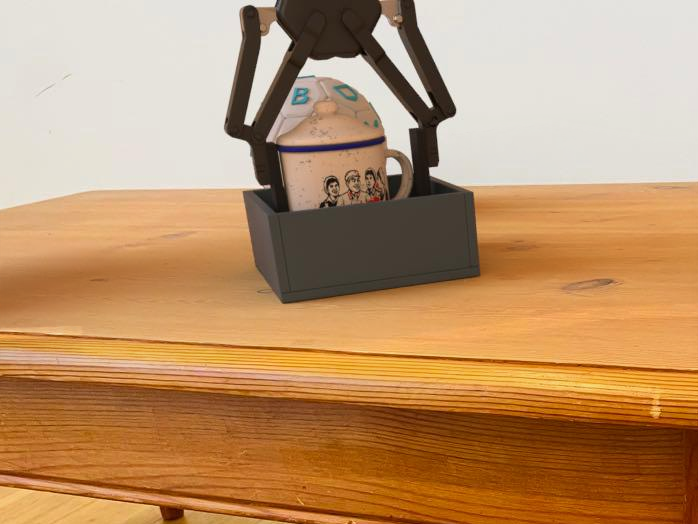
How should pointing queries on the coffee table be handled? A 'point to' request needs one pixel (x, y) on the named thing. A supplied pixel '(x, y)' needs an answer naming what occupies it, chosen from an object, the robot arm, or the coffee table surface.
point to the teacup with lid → (337, 161)
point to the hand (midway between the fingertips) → (355, 216)
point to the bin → (364, 242)
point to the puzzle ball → (321, 90)
